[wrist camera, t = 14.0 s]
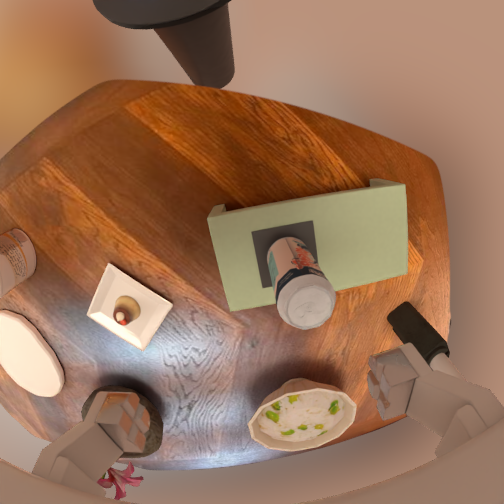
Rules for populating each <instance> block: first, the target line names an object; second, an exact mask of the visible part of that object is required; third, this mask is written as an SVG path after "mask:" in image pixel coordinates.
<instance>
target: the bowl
mask: <svg viewBox="0 0 504 504" xmlns="http://www.w3.org/2000/svg"><path fill="white" fill-rule="evenodd" d="M356 407H357V405H356V404H355V403H354V402H353V401H352V400H351V399H350V398H349V397H348V396H347V394H346V393H345V392H343V391H341V390H340V389H338V388H337V387H335V386H333V385H328V384H323V383H318V382H313V381H310V380H309V379H304V378H296V379H291V380H289V381H287V382H285V383H284V384H282V386H281V387H280V388H279V389H277V390H275V391H274V392H272V393H271V394H270V395H268V396H267V397H265V399H264V400H263V402H262V403H261V405H260V406H259V408H258V409H257V411H256V412H255V414H254V415H253V417H252V418H251V420H250V421H249V423H248V426H249V430H250V434H251V437H252V439H253V440H255V441H256V442H258V443H260V444H261V445H263V446H265V447H267V448H268V449H275V450H283V451H298V450H304V449H310V448H315V447H318V446H321V445H323V444H325V443H327V442H329V441H331V440H333V439H335V438H337V437H339V436H340V435H341V434H342V433H343V432H344V431H345V430H346V429H347V428H348V427H349V426H350V425H351V424H352V423H353V422H354V419H355V413H356Z"/></svg>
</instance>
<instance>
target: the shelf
mask: <svg viewBox="0 0 504 504" xmlns="http://www.w3.org/2000/svg"><path fill="white" fill-rule="evenodd" d="M369 180H370V187H366V188H359V189H352V190H345V191H339V192H333V193H326V194H320V195H314V196H308V197H302V198H296V199H291V200H285V201H280V202H274V203H269V204H263V205H258V206H253V207H248V208H242V209H237V210H232V211H227V212H226V208H225V204H221V205H216V206H214V207H213V209H212V210H211V212H210V214H209V216H208V217H207V221H208V225H209V230H210V234H211V238H212V242H213V246H214V250H215V254H216V259H217V263H218V267H219V271H220V275H221V279H222V282H223V286H224V290H225V294H226V298H227V302H228V306H229V309H230V312H231V311H237V310H243V309H248V308H254V307H260V306H265V305H270V304H276V299H275V295H274V290H273V285H272V281H271V276H270V272H269V267H268V262H267V255H268V251H269V249H270V247H271V246H272V245H273V244H274V243H275V242H276V241H277V240H279V239H281V238H285V237H294V238H297V239H299V240H301V241H302V242H303V243H304V244H305V245H306V247H307V249H308V250H309V252H310V253H311V255H312V256H313V258H314V259H315V261H316V262H317V264H318V265H319V267H320V269H321V270H322V272H323V273H324V275H325V276H326V278H327V279H328V281H329V282H330V283H331V285H332V286H333V288H334V291H339V290H343V289H347V288H352V287H356V286H360V285H364V284H369V283H373V282H377V281H381V280H385V279H389V278H393V277H397V276H401V275H404V274H407V273H408V222H407V202H406V188H405V184H402V183H397V182H393V181H389V180H384V179H379V178H375V179H369Z"/></svg>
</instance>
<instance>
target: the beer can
mask: <svg viewBox="0 0 504 504" xmlns="http://www.w3.org/2000/svg"><path fill="white" fill-rule="evenodd" d="M267 262H268V267H269V272H270V276H271V281H272V285H273V290H274V295H275V299H276V304H277V308H278V312H279V314H280V316H281V317H282V318H283V320H284V321H285V322H287V323H288V324H290V325H292V326H295V327H297V328H301V329H304V330H307V329H311V328H315V327H319V326H321V325H322V324H323V323H324V322H325V321H326V320H327V319H328V318H329V317H331V314H332V311H333V309H334V305H335V301H336V294H335V291H334V288H333V286H332V285H331V283H330V282H329V281H328V279H327V278H326V276H325V275H324V273H323V272H322V270H321V269H320V267H319V265H318V264H317V262H316V261H315V259H314V258H313V256H312V255H311V253H310V252H309V250H308V249H307V247H306V245H305V244H304V243H303V242H302V241H301V240H299V239H297V238H294V237H285V238H281V239H279V240H277V241H276V242H275V243H274V244H273V245H272V246H271V247H270V249H269V251H268V255H267Z"/></svg>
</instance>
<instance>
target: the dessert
mask: <svg viewBox="0 0 504 504" xmlns="http://www.w3.org/2000/svg"><path fill="white" fill-rule="evenodd" d="M172 306H173V304H172V303H170V302H168V301H167V300H165V299H163V298H162V297H160V296H159V295H157V294H155V293H154V292H152V291H151V290H149V289H148V288H146V287H144V286H143V285H141V284H140V283H138V282H137V281H135V280H134V279H132V278H131V277H129V276H128V275H126V274H125V273H123V272H122V271H120V270H119V269H117V268H116V267H114V266H113V265H112V264H110V263H108V265H107V267H106V269H105V272H104V274H103V276H102V278H101V281H100V283H99V285H98V288H97V290H96V293H95V295H94V298H93V300H92V303H91V305H90V308H89V310H88V313H87V316H89V317H90V318H91V319H93V320H94V321H96V322H97V323H99V324H100V325H102V326H103V327H105V328H106V329H108V330H109V331H111V332H112V333H114V334H115V335H117V336H118V337H120V338H122V339H123V340H125V341H126V342H128V343H130V344H131V345H133V346H135V347H136V348H138V349H140V350H141V351H144V350H145V349H146V347H147V345H148V344H149V342H150V341H151V339H152V337H153V336H154V334H155V332H156V331H157V329H158V328H159V326H160V324H161V323H162V321H163V320H164V318H165V317H166V315H167V313H168V312H169V310H170V309H171V307H172Z"/></svg>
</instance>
